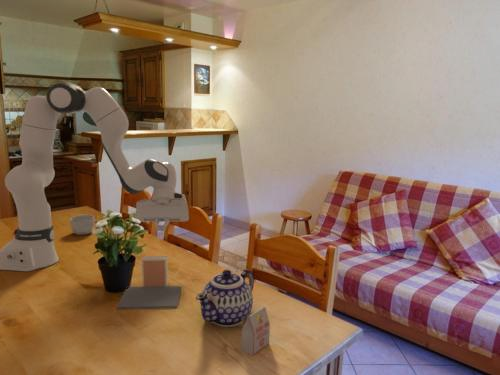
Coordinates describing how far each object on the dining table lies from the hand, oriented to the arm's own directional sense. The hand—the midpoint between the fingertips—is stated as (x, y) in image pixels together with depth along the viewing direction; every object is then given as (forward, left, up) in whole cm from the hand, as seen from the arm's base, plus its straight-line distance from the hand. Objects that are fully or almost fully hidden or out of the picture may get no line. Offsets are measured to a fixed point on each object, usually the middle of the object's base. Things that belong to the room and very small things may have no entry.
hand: (161, 230), depth 148 cm
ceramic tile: (0, -15, -15) cm, 21 cm away
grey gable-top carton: (+31, -53, -15) cm, 63 cm away
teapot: (+24, -38, -15) cm, 48 cm away
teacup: (-43, +46, -15) cm, 65 cm away
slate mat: (0, -25, -15) cm, 29 cm away
